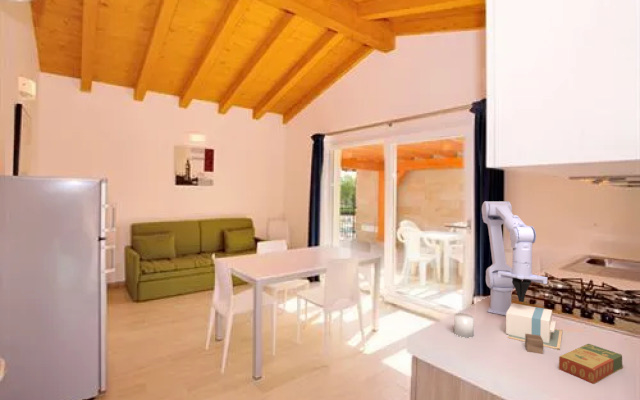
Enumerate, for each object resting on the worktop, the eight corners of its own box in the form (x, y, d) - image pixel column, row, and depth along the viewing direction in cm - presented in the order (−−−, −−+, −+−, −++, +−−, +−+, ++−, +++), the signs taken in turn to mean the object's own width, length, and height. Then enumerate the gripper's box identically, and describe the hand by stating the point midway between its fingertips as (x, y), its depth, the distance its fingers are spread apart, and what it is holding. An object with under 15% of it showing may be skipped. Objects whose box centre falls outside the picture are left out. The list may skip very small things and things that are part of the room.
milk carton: (512, 303, 124) (556, 310, 116) (511, 322, 124) (556, 331, 116) (506, 313, 114) (553, 322, 106) (506, 333, 114) (553, 344, 106)
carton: (557, 370, 93) (558, 355, 93) (587, 356, 100) (587, 341, 100) (594, 385, 85) (594, 369, 85) (623, 369, 93) (623, 353, 93)
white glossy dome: (457, 328, 119) (457, 312, 119) (475, 333, 116) (475, 315, 115) (451, 334, 114) (452, 317, 114) (471, 339, 111) (471, 321, 111)
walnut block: (525, 346, 106) (525, 333, 106) (540, 348, 105) (540, 335, 105) (527, 351, 103) (527, 338, 102) (543, 354, 101) (543, 341, 101)
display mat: (515, 321, 125) (515, 320, 125) (562, 330, 117) (562, 330, 117) (507, 337, 112) (507, 337, 112) (559, 350, 103) (559, 349, 103)
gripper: (496, 261, 117) (495, 300, 118) (546, 266, 109) (545, 308, 109) (500, 257, 123) (499, 294, 123) (548, 262, 114) (547, 302, 115)
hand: (521, 301), depth 117 cm, fingers closed
